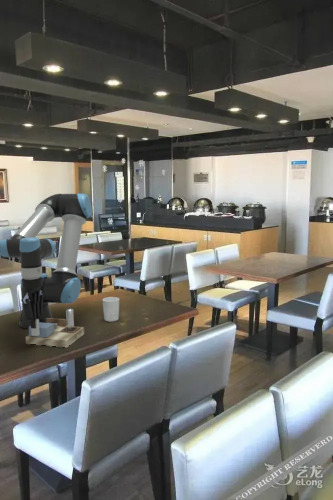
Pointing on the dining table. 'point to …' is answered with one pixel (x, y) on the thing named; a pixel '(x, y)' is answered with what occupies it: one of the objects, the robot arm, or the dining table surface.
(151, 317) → the dining table surface
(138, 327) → the dining table surface
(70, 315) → the pin
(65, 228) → the robot arm
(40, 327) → the block
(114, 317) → the white cup
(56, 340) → the base plate
